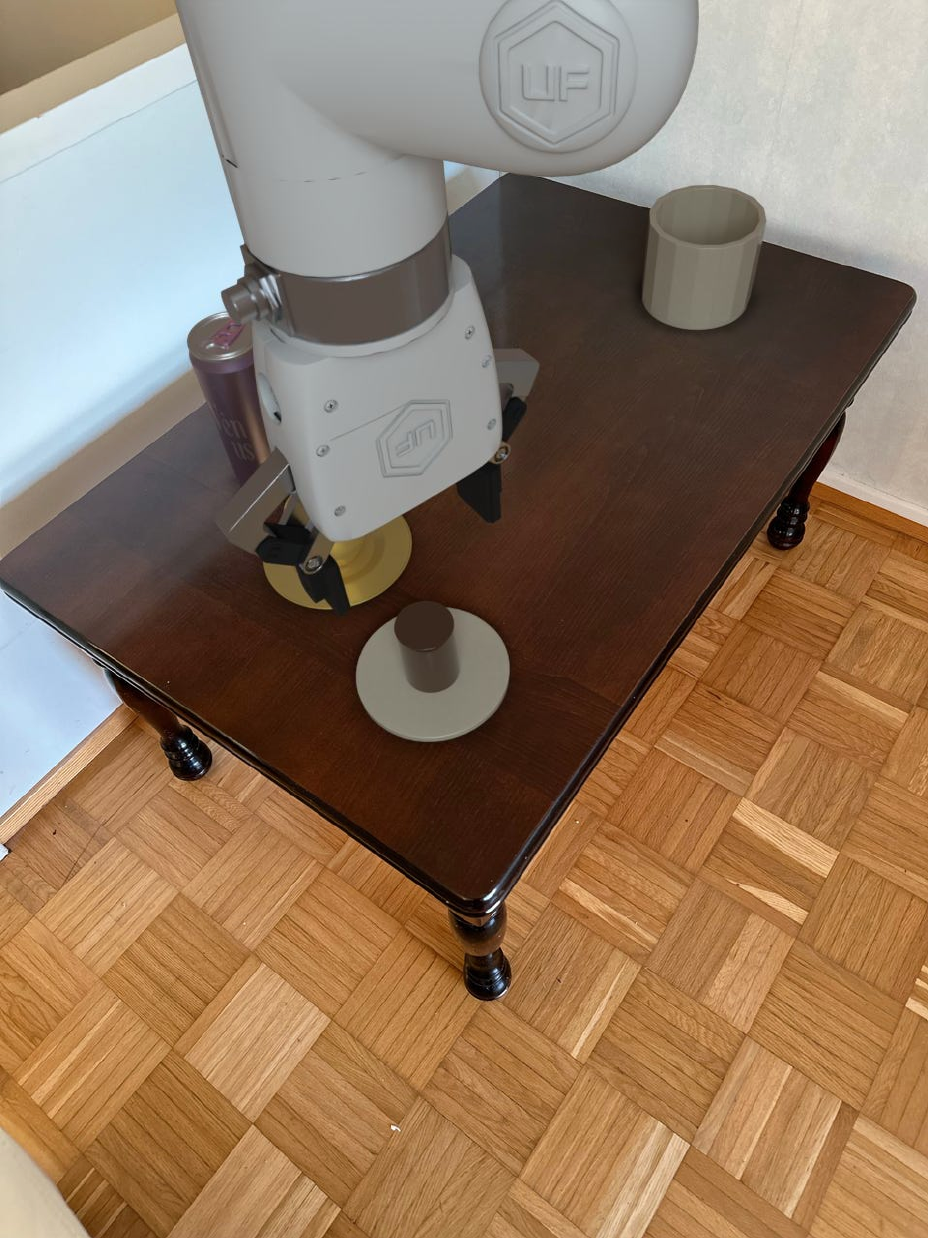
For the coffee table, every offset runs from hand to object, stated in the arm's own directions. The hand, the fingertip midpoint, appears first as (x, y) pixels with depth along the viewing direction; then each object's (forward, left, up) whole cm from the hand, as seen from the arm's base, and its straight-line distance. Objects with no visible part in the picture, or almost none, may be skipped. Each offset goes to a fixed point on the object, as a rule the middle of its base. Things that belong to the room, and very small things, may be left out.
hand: (406, 550), depth 48 cm
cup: (+10, -15, -19) cm, 26 cm away
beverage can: (+17, -23, -19) cm, 34 cm away
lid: (+1, -3, -18) cm, 18 cm away
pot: (-20, -48, -18) cm, 55 cm away
